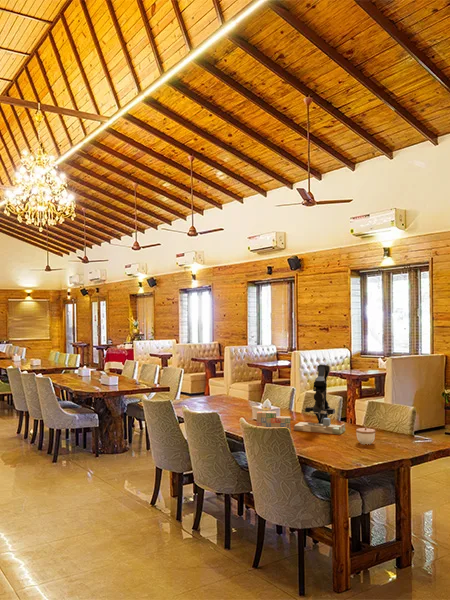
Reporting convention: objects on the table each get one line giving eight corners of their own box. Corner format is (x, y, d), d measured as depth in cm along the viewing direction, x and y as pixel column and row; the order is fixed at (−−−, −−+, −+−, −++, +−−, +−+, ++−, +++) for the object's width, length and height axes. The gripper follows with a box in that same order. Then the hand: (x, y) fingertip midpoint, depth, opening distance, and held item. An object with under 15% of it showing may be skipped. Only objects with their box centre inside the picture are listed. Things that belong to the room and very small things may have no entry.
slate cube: (324, 423, 363) (324, 417, 363) (330, 424, 361) (330, 418, 361) (322, 425, 359) (322, 418, 360) (328, 425, 358) (328, 419, 358)
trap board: (300, 426, 370) (300, 419, 370) (345, 430, 357) (345, 423, 357) (293, 430, 358) (293, 423, 358) (340, 434, 345) (340, 427, 345)
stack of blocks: (290, 431, 356) (290, 411, 356) (290, 433, 350) (290, 413, 350) (257, 430, 359) (257, 410, 359) (256, 432, 353) (256, 412, 353)
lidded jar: (362, 446, 315) (361, 429, 315) (352, 441, 325) (352, 425, 325) (378, 444, 318) (378, 428, 318) (369, 440, 328) (369, 424, 328)
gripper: (302, 400, 358) (302, 424, 358) (330, 402, 350) (330, 427, 350) (307, 397, 368) (307, 421, 368) (335, 399, 360) (335, 424, 360)
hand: (320, 423), depth 361 cm, fingers closed
